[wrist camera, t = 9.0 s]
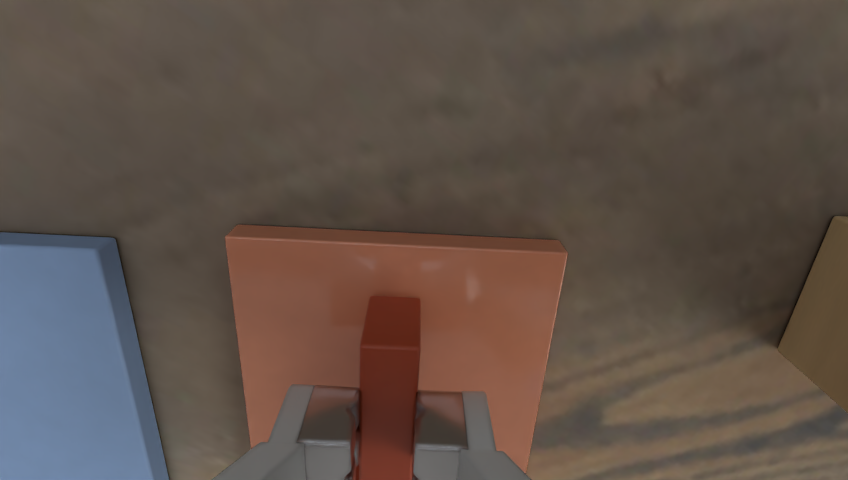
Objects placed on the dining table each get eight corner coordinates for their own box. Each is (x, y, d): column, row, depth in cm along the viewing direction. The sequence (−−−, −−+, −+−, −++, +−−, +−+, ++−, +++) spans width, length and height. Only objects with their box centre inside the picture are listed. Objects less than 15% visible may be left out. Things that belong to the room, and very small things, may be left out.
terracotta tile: (559, 239, 12) (569, 252, 11) (510, 515, 16) (514, 538, 15) (236, 223, 12) (223, 236, 11) (267, 506, 16) (260, 530, 15)
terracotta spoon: (308, 291, 11) (286, 342, 9) (480, 299, 11) (492, 351, 9) (320, 548, 14) (305, 622, 13) (450, 552, 15) (454, 627, 13)
